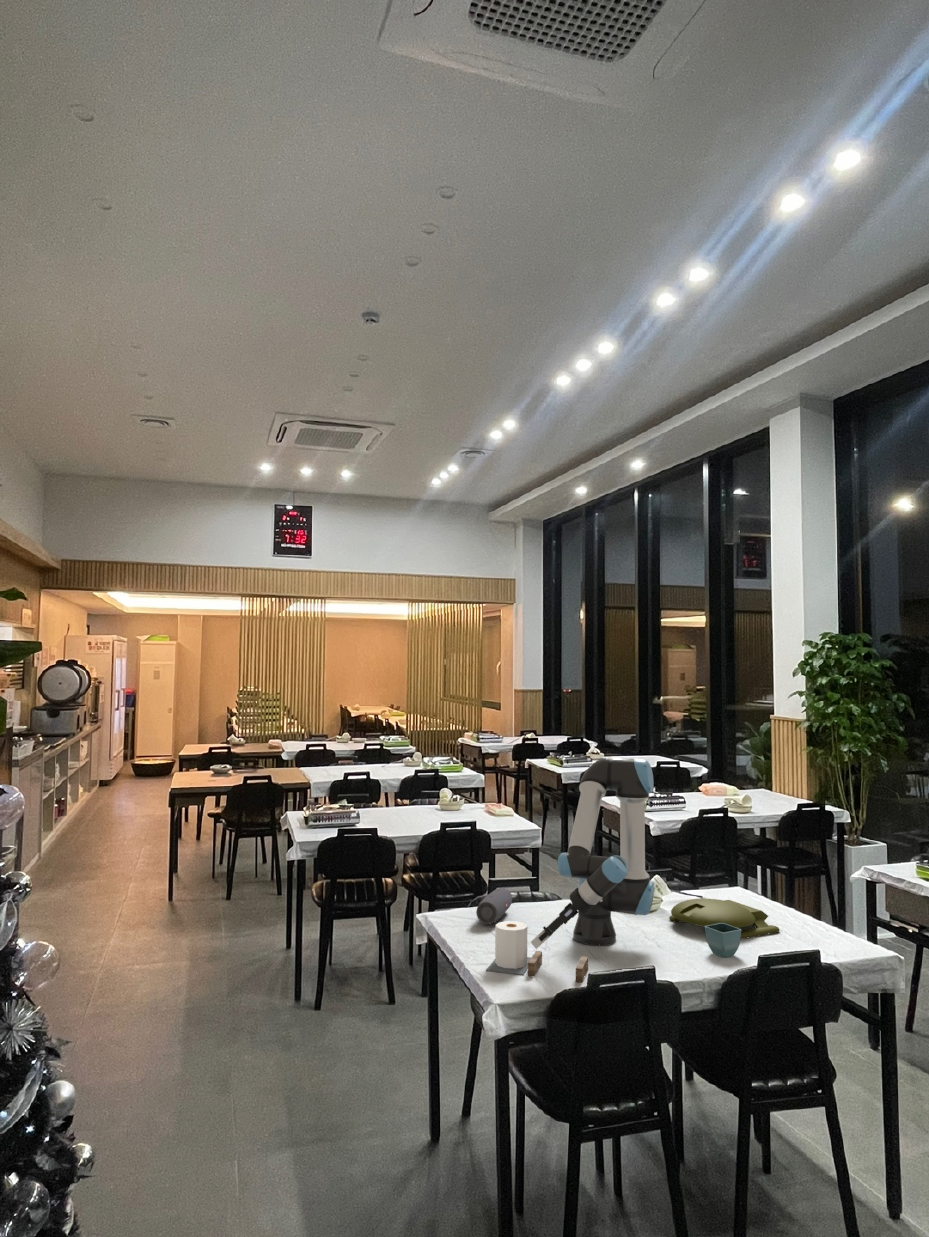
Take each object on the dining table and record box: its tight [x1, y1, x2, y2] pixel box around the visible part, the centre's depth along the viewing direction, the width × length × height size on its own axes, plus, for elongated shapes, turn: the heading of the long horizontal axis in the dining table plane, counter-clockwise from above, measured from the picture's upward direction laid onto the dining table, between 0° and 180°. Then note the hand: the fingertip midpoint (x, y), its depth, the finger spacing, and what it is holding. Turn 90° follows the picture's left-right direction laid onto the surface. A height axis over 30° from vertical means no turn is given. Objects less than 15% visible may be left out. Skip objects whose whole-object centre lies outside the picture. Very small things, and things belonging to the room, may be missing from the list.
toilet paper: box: [494, 920, 528, 969], centre depth 264 cm, size 10×10×12 cm
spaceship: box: [669, 898, 780, 940], centre depth 308 cm, size 35×31×10 cm
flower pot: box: [704, 923, 742, 958], centre depth 277 cm, size 9×9×9 cm
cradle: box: [527, 950, 589, 983], centre depth 257 cm, size 12×17×4 cm
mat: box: [485, 956, 532, 976], centre depth 263 cm, size 16×12×1 cm
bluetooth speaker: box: [475, 887, 513, 925], centre depth 315 cm, size 23×9×10 cm, turn 162°
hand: (540, 939), depth 260 cm, fingers open, 13 cm apart
